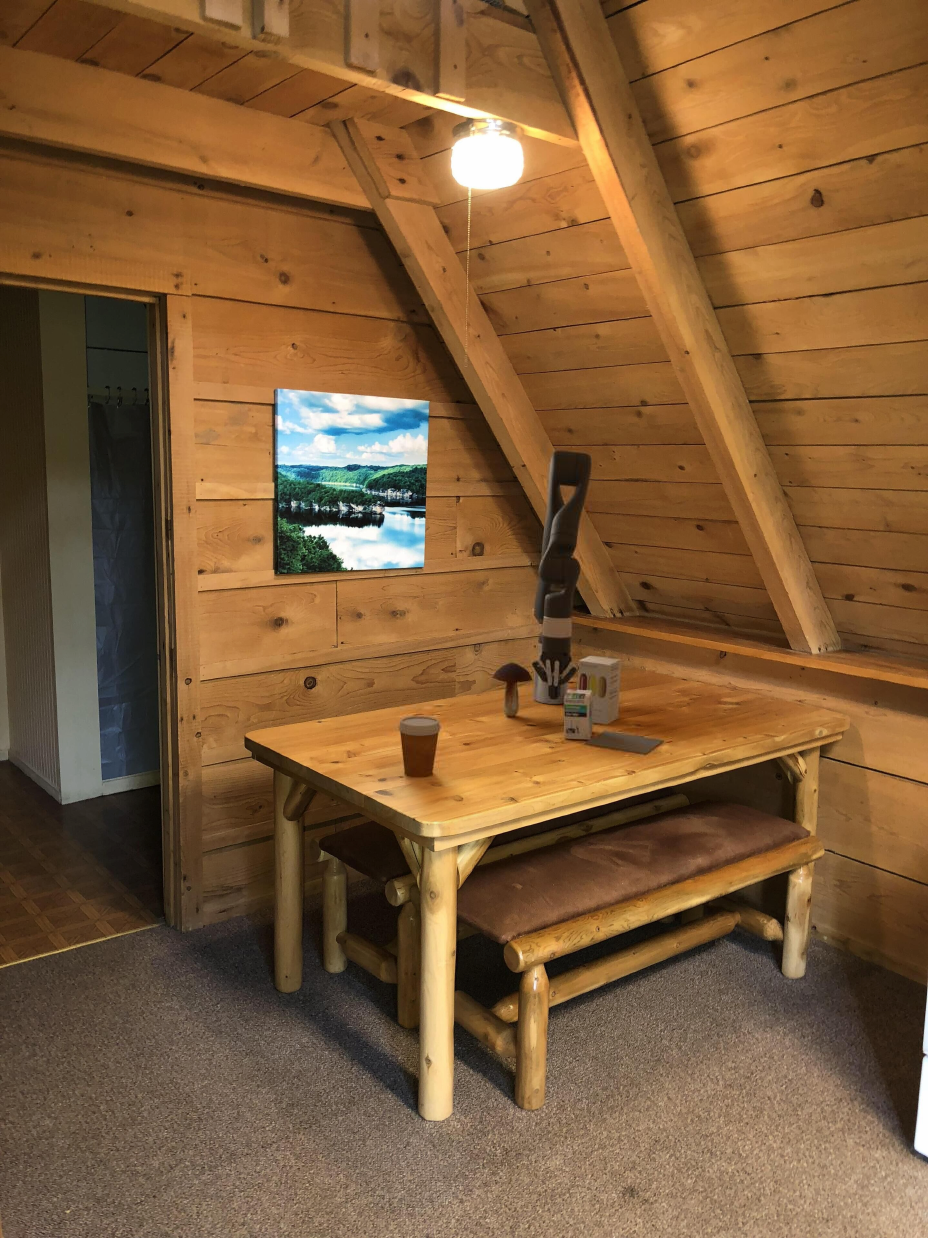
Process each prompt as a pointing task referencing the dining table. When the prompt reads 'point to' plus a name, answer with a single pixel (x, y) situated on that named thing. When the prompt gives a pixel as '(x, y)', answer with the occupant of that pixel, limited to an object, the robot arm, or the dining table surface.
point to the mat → (624, 742)
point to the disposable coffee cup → (419, 744)
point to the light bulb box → (578, 714)
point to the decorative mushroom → (511, 685)
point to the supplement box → (601, 686)
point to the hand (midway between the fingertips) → (553, 699)
